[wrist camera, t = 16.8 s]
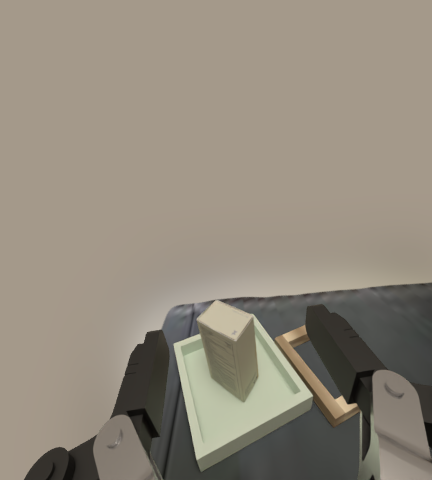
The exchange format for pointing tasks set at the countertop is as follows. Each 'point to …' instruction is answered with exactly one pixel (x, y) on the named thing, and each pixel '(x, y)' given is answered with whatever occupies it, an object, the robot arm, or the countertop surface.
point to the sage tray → (230, 407)
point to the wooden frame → (314, 379)
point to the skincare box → (230, 347)
